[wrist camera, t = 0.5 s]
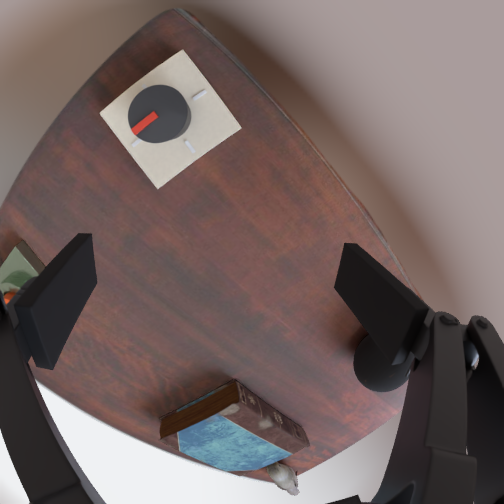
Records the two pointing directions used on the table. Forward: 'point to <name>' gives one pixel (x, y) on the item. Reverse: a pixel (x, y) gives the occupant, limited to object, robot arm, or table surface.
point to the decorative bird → (284, 477)
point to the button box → (19, 268)
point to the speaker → (378, 367)
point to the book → (232, 431)
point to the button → (8, 296)
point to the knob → (159, 114)
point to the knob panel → (196, 136)
